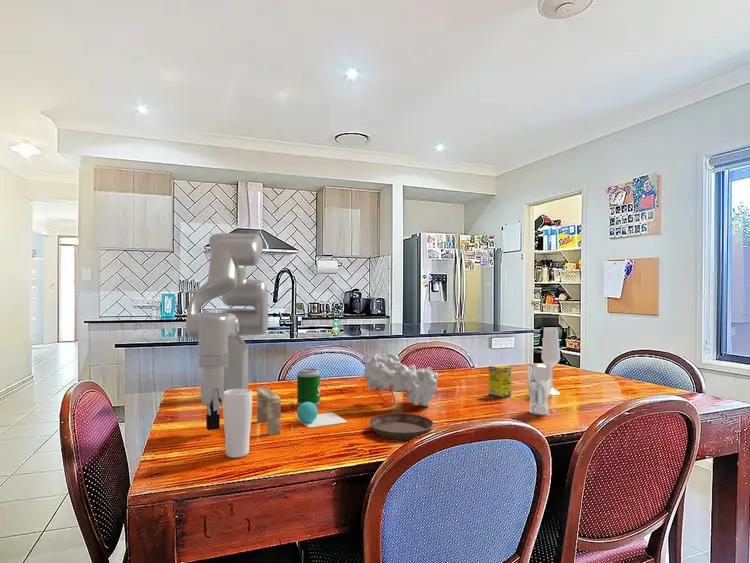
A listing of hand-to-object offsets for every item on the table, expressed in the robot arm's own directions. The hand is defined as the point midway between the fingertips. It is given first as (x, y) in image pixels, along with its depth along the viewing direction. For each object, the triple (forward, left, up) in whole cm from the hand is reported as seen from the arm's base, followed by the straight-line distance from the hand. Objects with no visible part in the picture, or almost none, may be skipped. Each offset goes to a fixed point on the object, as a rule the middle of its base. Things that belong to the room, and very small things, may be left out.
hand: (212, 428), depth 130 cm
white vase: (+22, +96, -2) cm, 99 cm away
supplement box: (-1, +100, -2) cm, 100 cm away
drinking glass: (+19, +3, -2) cm, 19 cm away
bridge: (0, +15, -2) cm, 15 cm away
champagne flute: (+3, +121, -2) cm, 121 cm away
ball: (+1, +26, +2) cm, 26 cm away
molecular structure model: (-5, +60, -2) cm, 60 cm away
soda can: (-18, +33, -2) cm, 38 cm away
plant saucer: (+20, +47, -2) cm, 51 cm away
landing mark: (0, +31, -2) cm, 31 cm away
